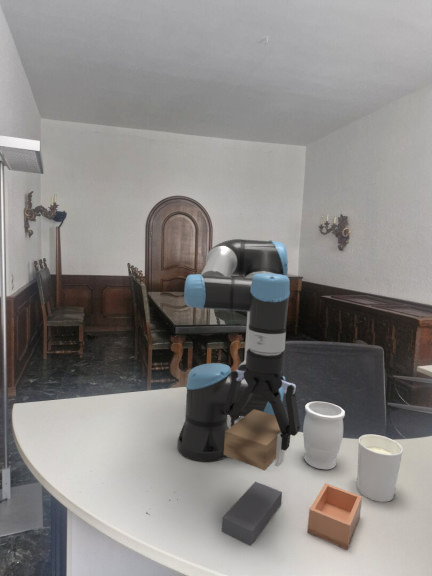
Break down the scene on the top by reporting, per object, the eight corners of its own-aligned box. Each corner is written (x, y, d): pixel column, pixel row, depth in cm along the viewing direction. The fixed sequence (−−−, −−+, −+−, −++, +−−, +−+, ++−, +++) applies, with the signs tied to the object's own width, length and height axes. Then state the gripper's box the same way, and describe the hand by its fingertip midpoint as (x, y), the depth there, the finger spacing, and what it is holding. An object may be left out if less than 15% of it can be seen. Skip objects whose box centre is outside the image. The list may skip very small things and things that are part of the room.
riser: (221, 531, 79) (222, 517, 79) (254, 493, 92) (255, 481, 92) (251, 545, 76) (252, 531, 76) (281, 504, 89) (282, 492, 89)
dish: (307, 532, 81) (309, 509, 80) (323, 503, 90) (325, 483, 89) (347, 549, 77) (350, 525, 76) (359, 518, 86) (362, 496, 85)
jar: (341, 475, 102) (347, 419, 100) (300, 468, 104) (305, 413, 102) (337, 454, 112) (342, 403, 111) (300, 449, 114) (304, 398, 113)
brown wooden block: (223, 454, 80) (225, 431, 79) (252, 430, 91) (253, 409, 90) (264, 470, 75) (266, 445, 74) (289, 442, 86) (291, 420, 85)
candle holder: (393, 510, 89) (399, 459, 88) (349, 493, 94) (354, 445, 93) (399, 488, 98) (405, 442, 96) (358, 474, 103) (363, 430, 101)
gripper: (210, 343, 83) (204, 445, 85) (312, 366, 71) (301, 483, 74) (228, 337, 89) (222, 432, 92) (324, 357, 78) (314, 464, 81)
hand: (257, 455), depth 83 cm, fingers closed on brown wooden block, 9 cm apart
